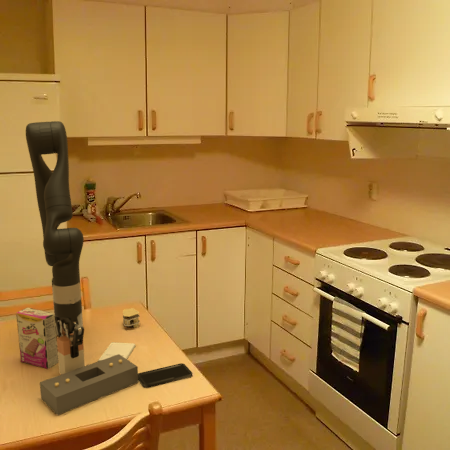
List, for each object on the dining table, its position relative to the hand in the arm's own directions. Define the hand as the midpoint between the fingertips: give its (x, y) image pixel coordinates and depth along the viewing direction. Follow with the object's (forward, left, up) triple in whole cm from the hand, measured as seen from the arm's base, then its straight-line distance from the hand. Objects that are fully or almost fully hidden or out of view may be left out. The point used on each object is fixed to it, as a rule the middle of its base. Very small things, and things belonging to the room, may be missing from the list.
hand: (71, 354), depth 149 cm
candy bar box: (-14, -4, -7) cm, 16 cm away
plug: (0, 0, -6) cm, 6 cm away
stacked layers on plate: (-19, +32, -7) cm, 38 cm away
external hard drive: (-3, +17, -8) cm, 19 cm away
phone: (+18, +20, -7) cm, 28 cm away
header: (+11, 0, -7) cm, 13 cm away
